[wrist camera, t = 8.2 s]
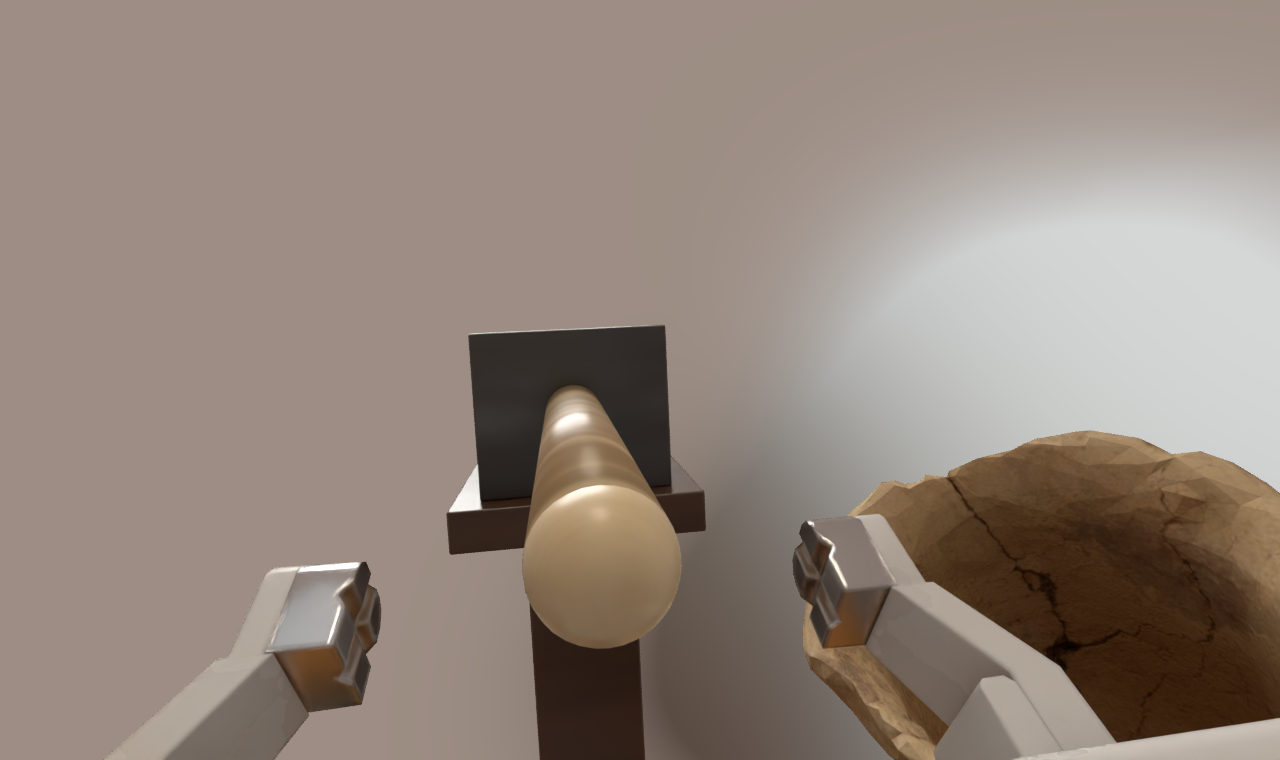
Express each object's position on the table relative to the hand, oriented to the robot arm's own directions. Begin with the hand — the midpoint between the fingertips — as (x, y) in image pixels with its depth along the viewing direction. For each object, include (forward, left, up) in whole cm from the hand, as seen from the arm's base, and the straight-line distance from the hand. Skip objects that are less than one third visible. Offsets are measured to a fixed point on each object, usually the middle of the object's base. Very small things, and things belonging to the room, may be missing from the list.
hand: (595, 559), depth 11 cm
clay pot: (+36, +23, -32) cm, 54 cm away
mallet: (0, +6, -2) cm, 6 cm away
